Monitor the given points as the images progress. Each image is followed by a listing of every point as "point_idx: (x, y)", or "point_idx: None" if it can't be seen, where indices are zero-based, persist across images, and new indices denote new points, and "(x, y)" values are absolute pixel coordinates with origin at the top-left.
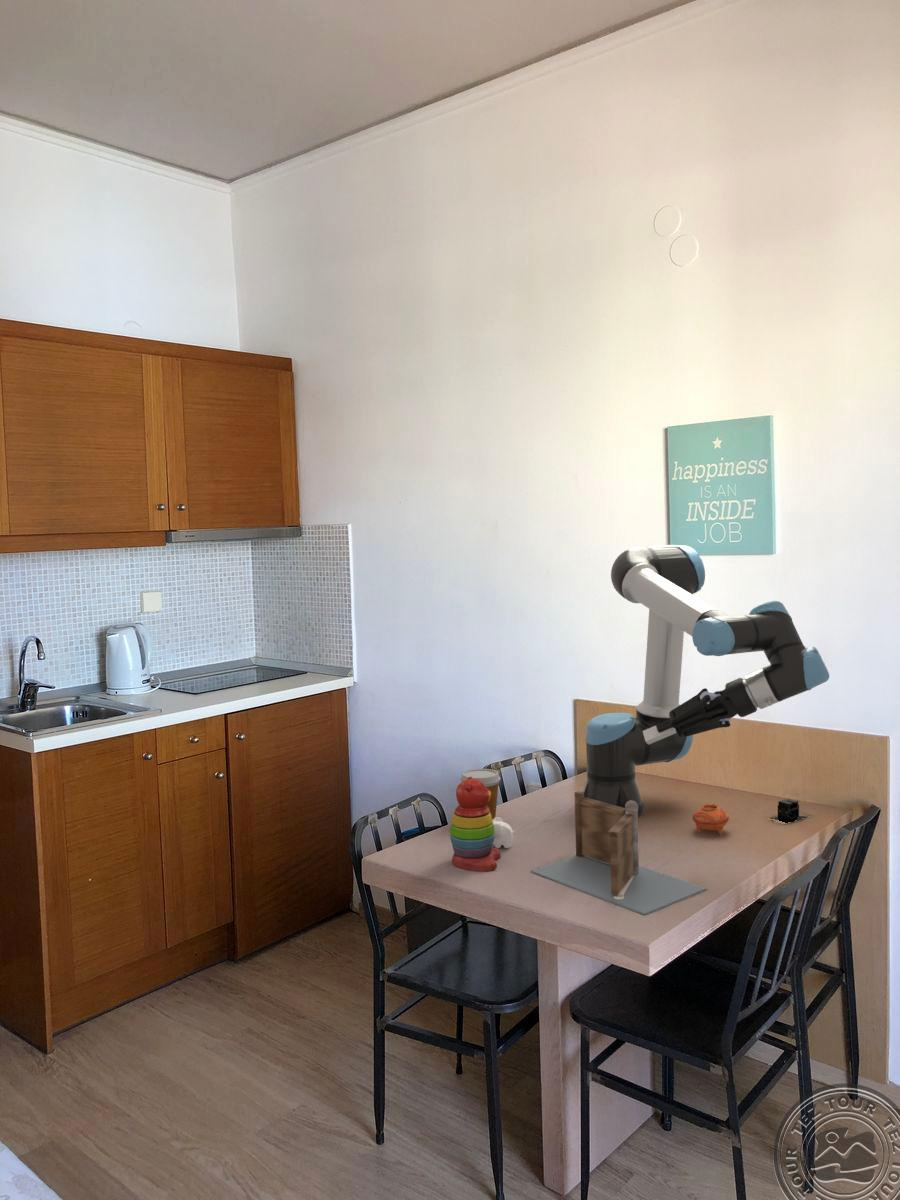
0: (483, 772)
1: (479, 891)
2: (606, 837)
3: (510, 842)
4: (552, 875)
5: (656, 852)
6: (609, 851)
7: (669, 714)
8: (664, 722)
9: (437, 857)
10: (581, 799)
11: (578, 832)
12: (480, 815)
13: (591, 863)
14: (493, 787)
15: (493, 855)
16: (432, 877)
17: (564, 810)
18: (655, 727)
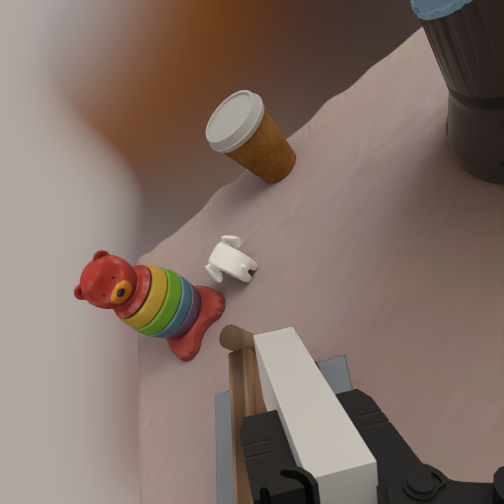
0: (240, 104)
1: (142, 424)
2: None
3: (244, 280)
4: (224, 437)
5: (483, 444)
6: None
7: (257, 488)
8: (251, 483)
9: None
10: (229, 357)
11: None
12: (125, 317)
13: None
14: (244, 146)
15: (200, 325)
16: (141, 346)
17: (427, 114)
18: (272, 391)
